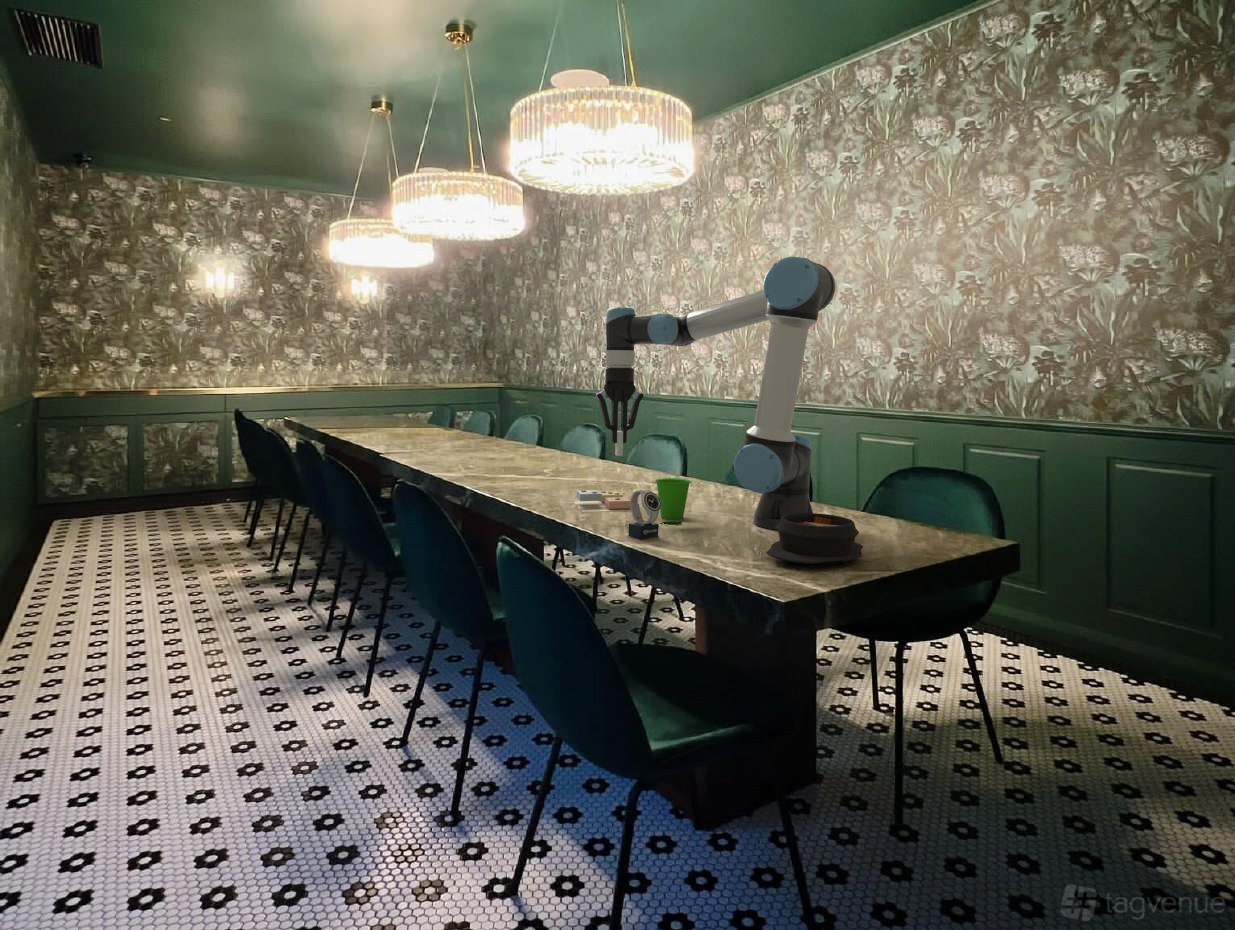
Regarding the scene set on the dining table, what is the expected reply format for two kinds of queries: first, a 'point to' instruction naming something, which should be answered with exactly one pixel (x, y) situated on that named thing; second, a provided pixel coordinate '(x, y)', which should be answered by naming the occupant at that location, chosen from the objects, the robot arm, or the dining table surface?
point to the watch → (641, 527)
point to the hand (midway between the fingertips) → (618, 455)
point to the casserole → (816, 539)
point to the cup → (672, 498)
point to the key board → (595, 506)
